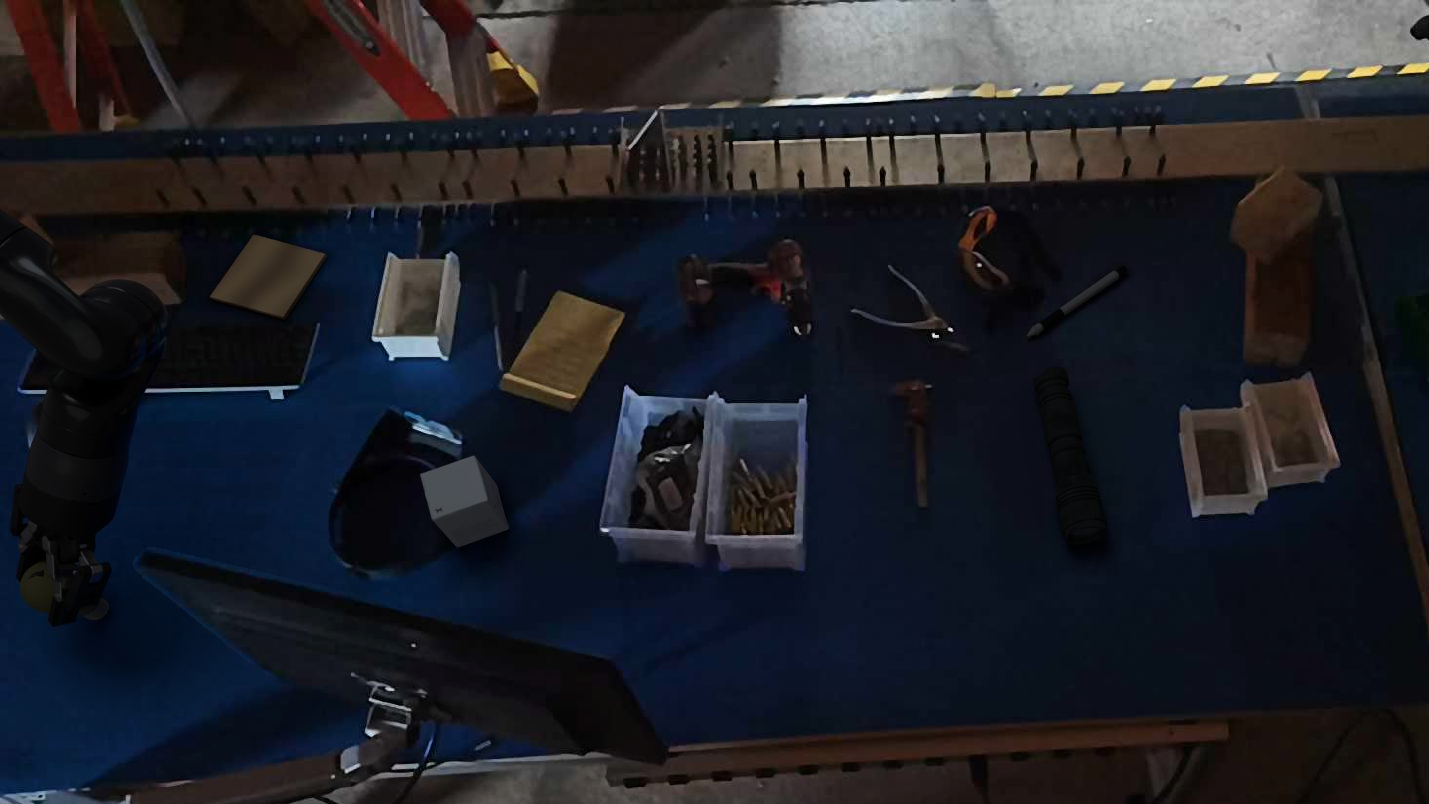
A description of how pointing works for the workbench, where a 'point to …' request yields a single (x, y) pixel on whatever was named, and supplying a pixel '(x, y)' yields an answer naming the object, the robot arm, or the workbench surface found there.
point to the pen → (1077, 301)
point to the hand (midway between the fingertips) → (45, 600)
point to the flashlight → (1069, 461)
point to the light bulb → (52, 592)
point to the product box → (464, 501)
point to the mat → (268, 277)
